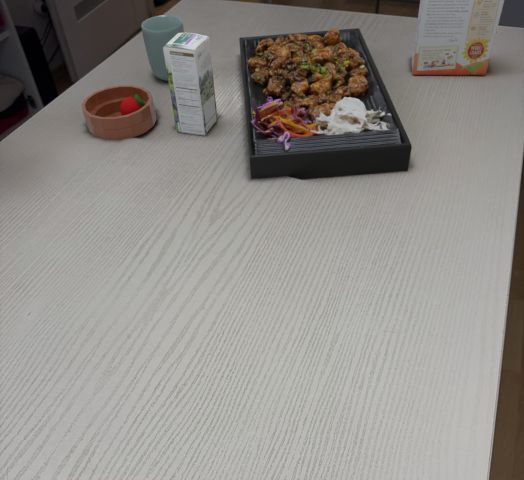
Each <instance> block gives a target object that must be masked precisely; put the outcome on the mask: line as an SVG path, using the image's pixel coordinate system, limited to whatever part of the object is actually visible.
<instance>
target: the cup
mask: <svg viewBox="0 0 524 480" xmlns="http://www.w3.org/2000/svg"><path fill="white" fill-rule="evenodd" d="M140 27H141V33H142V38H143V44H144V49H145V52H146V56H147V60H148V64H149V66H150V68H151V71H152V72H153V74H154V75H155V77H157V78H158V79H159V80H162V81H165V82H168V76H167V70H166V64H165V58H164V52H163V47H164V46H165V45H166V44H167V43H168V42H169V41H170V40H171V39H172V38H173V37H174V36H175V35H177V34H178V33H185V27H184V23H183V20H182V18H180V17H179V16H176V15H172V14H161V15H155V16H151V17H149V18H147V19H144V20H143V21H142V22H141V25H140Z"/></svg>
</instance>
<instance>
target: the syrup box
mask: <svg viewBox="0 0 524 480" xmlns="http://www.w3.org/2000/svg"><path fill="white" fill-rule="evenodd" d="M163 52H164V58H165V64H166V70H167V76H168V81H167V82H168V88H169V94H170V100H171V105H172V111H173V118H174V123H175V130H176V132H177V133H181V134H182V133H183V134H188V135H195V136H196V135H198V136H207V134H208V133H209V132H210V131H211V129H213V127H214V126H215V124H216V123H217V121H218V111H217V100H216V91H215V82H214V81H215V80H214V72H213V70H214V69H213V61H212V53H211V42H210V37H209V36H208V35H204V34H200V33H195V32H184V33H178V34H177V35H175V36H174V37H173V38H172V39H171V40H170V41H169V42H168V43H167V44H166V45H165V46H164V47H163Z"/></svg>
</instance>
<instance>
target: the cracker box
mask: <svg viewBox="0 0 524 480" xmlns="http://www.w3.org/2000/svg"><path fill="white" fill-rule="evenodd" d="M504 3H505V0H419V7H418V15H417V22H416V29H415V34H414V41H413V47H412V48H413V49H412V55H411V56H412V57H411V63H410V64H411V74H412V75H413V76H485V75H487V71H488V67H489V63H490V60H491V56H492V52H493V47H494V45H495V44H494V43H495V39H496V36H497V32H498V29H499V28H498V27H499V24H500V19H501V16H502V12H503V8H504Z"/></svg>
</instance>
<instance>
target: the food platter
mask: <svg viewBox="0 0 524 480" xmlns="http://www.w3.org/2000/svg"><path fill="white" fill-rule="evenodd" d="M366 42H367V41H366V40H365V38H364V36H363V34H362V32H361V29H360V28H359V27H356V28H344V29H338V28H335V27H332V28H331V29H329V30H317V31H307V32H305V31H303V32H294V33H293V32H292V33H280V34H268V35H256V36H243V37H239V52H240V53H239V55H240V64H241V78H242V88H243V89H242V90H243V101H244V111H245V113H244V114H245V123H246V137H247V147H248V148H247V149H248V159H249V160H248V161H249V167H250V168H249V169H250V179H251V180H255V179H256V180H257V179H268V178H269V179H270V178H281V177H289V178H292V179H297V180H313V179H324V178H337V177H348V176H350V177H351V176H361V175H362V176H363V175H374V174H375V175H377V174H387V173H399V172H408V171H409V165H410V159H411V155H412V148H413V147H412V142H411V141H410V138H409V136H408V134H407V131H406V129H405V127H404V125H403V123H402V121H401V119H400V116H399V114H398V111H397V109H396V108H395V107H396V106H395V105H394V103H393V100H392V98H391V96H390V94H389V91H388V89H387V87H386V85H385V83H384V81H383V78H382V77H381V73H380V71H379V68H378V67H377V65H376V63H375V60H374V58H373V56H372V54H371V51H370V49H369V47H368V45H367V43H366Z"/></svg>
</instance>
